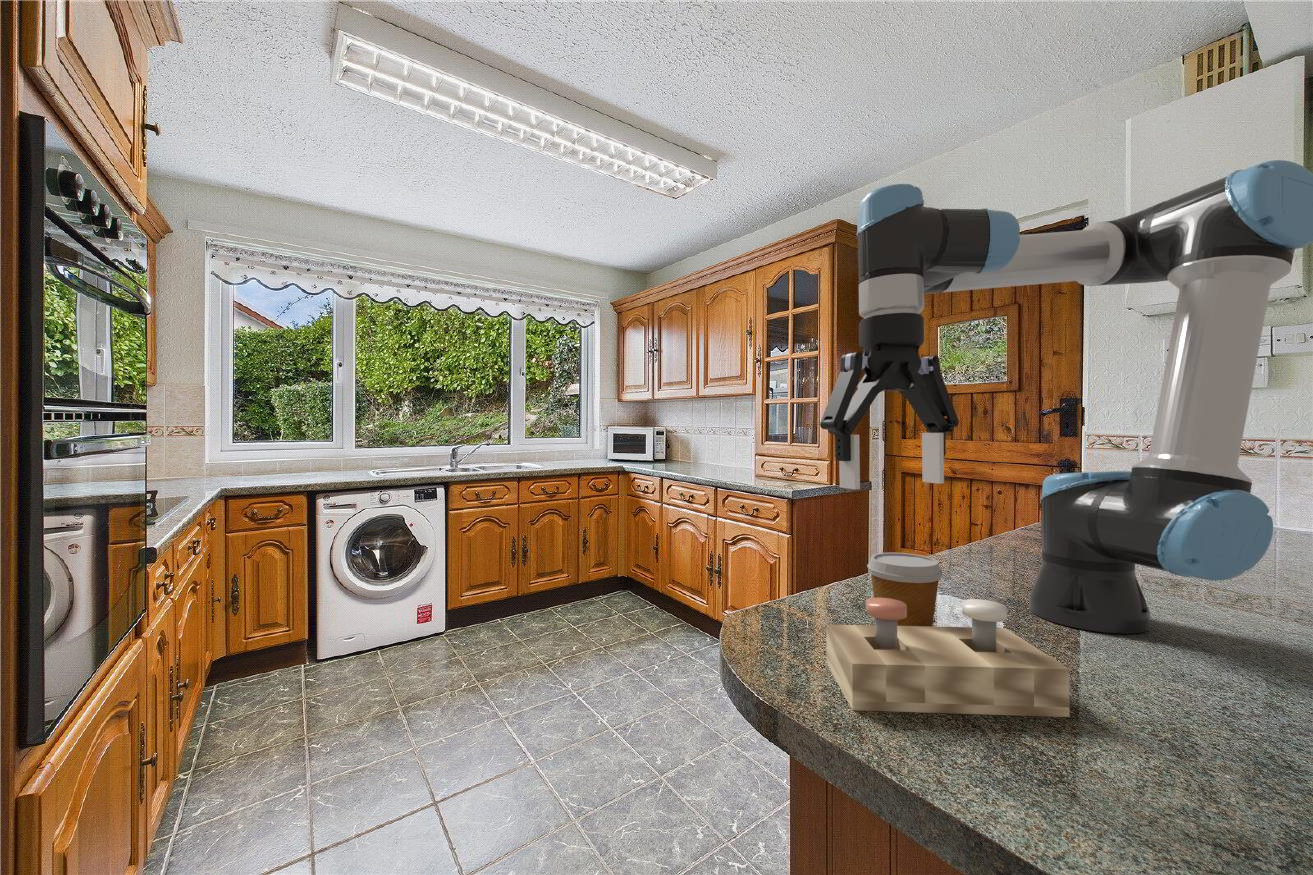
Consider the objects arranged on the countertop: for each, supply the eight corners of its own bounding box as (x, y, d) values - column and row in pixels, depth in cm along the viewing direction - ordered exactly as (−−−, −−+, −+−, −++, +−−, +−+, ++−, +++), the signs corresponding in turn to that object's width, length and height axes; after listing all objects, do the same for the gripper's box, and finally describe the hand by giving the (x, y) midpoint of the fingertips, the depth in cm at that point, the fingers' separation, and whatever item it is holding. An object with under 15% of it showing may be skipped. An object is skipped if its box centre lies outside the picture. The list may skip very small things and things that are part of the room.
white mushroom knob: (993, 640, 65) (993, 599, 65) (1015, 655, 61) (1015, 611, 61) (955, 639, 66) (955, 598, 66) (973, 654, 61) (973, 610, 61)
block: (1005, 667, 69) (1005, 627, 69) (1069, 717, 57) (1069, 669, 57) (826, 663, 71) (826, 624, 71) (852, 710, 59) (852, 663, 59)
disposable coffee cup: (952, 661, 71) (952, 569, 71) (874, 656, 73) (874, 566, 73) (931, 635, 80) (930, 553, 80) (862, 630, 82) (862, 550, 82)
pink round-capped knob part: (898, 638, 66) (898, 597, 66) (912, 653, 62) (912, 609, 62) (861, 637, 67) (861, 597, 66) (872, 652, 62) (872, 609, 62)
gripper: (939, 327, 77) (940, 478, 77) (789, 316, 68) (792, 488, 68) (988, 316, 70) (990, 482, 70) (829, 303, 61) (832, 494, 61)
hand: (892, 485), depth 69 cm, fingers open, 13 cm apart
